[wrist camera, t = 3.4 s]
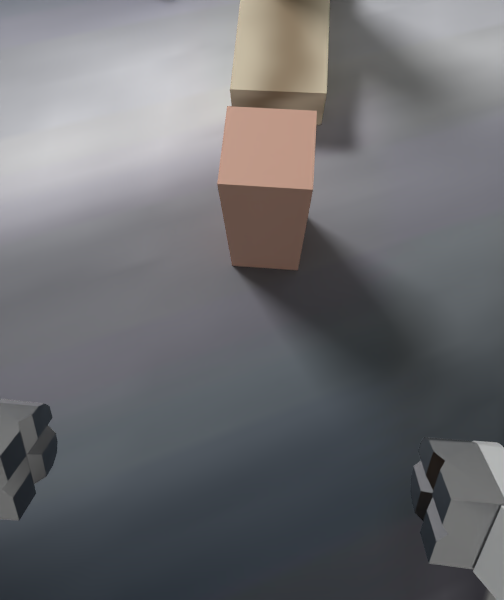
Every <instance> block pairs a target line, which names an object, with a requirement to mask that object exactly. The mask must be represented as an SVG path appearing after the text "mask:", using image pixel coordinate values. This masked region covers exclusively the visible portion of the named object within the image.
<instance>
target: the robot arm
mask: <svg viewBox="0 0 504 600" xmlns="http://www.w3.org/2000/svg"><path fill="white" fill-rule="evenodd" d="M51 419H52V414H51V410H50V407H49V406H48V405H46V404H44V403H36V402H27V401H18V400H9V399H0V519H5V520H20V518H21V517H22V515H23V513H24V512H25V510H26V509H27V507H28V505H29V504H30V502H31V501H32V499H33V497H34V496H35V494H36V491H35V486H34V484H35V483H37V482H38V481H40V480H41V479H43V478H45V477H46V476H47V474H48V473H49V471H50V469H51V468H52V466H53V463H54V460H55V457H56V453H57V437H56V433H55V432H54V431H53V430H52V429H51V428H50V427H49V426H48V423H49V422H50V420H51ZM418 452H419V456H420V459H421V461H420V462H419V463H417V464H416V465H415V466H414V467H413V471H412V475H411V489H410V492H411V499H412V504H413V508H414V512H415V513H416V514H417V515H418V516H419V517H420V518H421V519H422V520H423V524H422V528H421V531H420V534H421V537H422V541H423V544H424V548H425V551H426V555H427V558H428V562H429V564H437V565H444V566H452V567H460V568H467V569H474V570H473V572H474V573H475V574H476V576H477V577H478V578H479V579H480V580H481V582H482V583H483V584H484V585H485V586H486V588H487V589H488V590H489V591H490V592H491V594H492V595H493V596H494V597H495V598H496V600H504V447H503V446H502V445H500V444H499V443H496V442H482V441H465V440H452V439H440V438H428V437H424V438H423V439H422V441H421V443H420V446H419V449H418Z"/></svg>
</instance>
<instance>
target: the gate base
mask: <svg viewBox="0 0 504 600" xmlns="http://www.w3.org/2000/svg"><path fill="white" fill-rule="evenodd" d="M329 11H330V0H240V8H239V17H238V26H237V34H236V43H235V52H234V60H233V69H232V78H231V86H230V93H231V103H232V106H233V107H252V108H272V109H291V110H310V111H317V121H316V125H321V123H322V117H323V112H324V106H325V100H326V95H327V70H328V41H329Z"/></svg>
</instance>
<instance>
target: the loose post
mask: <svg viewBox="0 0 504 600" xmlns="http://www.w3.org/2000/svg"><path fill="white" fill-rule="evenodd" d="M316 121H317V111H310V110H291V109H272V108H252V107H233V106H227V112H226V120H225V128H224V136H223V144H222V152H221V159H220V167H219V175H218V183H217V185H218V190H219V196H220V201H221V207H222V212H223V218H224V223H225V228H226V234H227V239H228V245H229V250H230V256H231V261H232V266H243V267H257V268H271V269H285V270H298V267H299V262H300V256H301V251H302V245H303V240H304V235H305V229H306V224H307V219H308V213H309V208H310V202H311V197H312V192H313V178H314V159H315V140H316Z"/></svg>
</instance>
